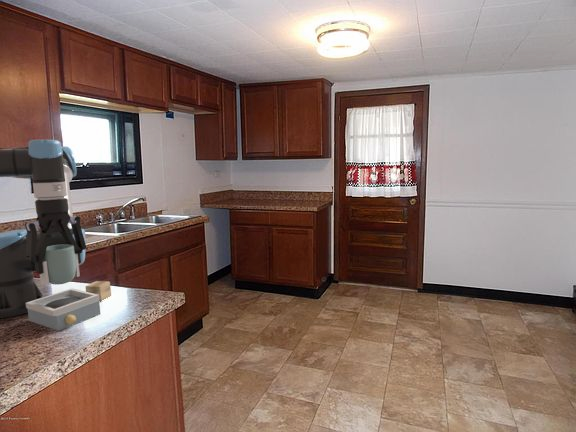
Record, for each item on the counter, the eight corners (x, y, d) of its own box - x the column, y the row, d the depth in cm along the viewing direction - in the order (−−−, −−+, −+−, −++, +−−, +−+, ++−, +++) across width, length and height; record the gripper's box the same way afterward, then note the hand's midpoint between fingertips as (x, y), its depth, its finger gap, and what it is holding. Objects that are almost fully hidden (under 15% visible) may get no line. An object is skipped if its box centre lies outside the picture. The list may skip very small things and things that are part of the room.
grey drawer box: (27, 321, 106) (24, 302, 105) (72, 305, 117) (70, 288, 117) (59, 332, 99) (56, 312, 98) (104, 314, 110) (102, 295, 109)
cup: (62, 287, 102) (58, 250, 101) (37, 286, 104) (33, 250, 102) (83, 278, 110) (80, 244, 108) (60, 277, 111) (56, 243, 110)
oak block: (87, 301, 121) (85, 286, 120) (97, 295, 126) (95, 281, 125) (101, 302, 120) (99, 286, 119) (111, 296, 125) (109, 281, 124)
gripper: (16, 202, 93) (28, 293, 96) (95, 194, 111) (103, 271, 114) (0, 202, 96) (12, 289, 100) (79, 194, 114) (87, 268, 117)
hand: (60, 280), depth 107 cm, fingers closed on cup, 8 cm apart
